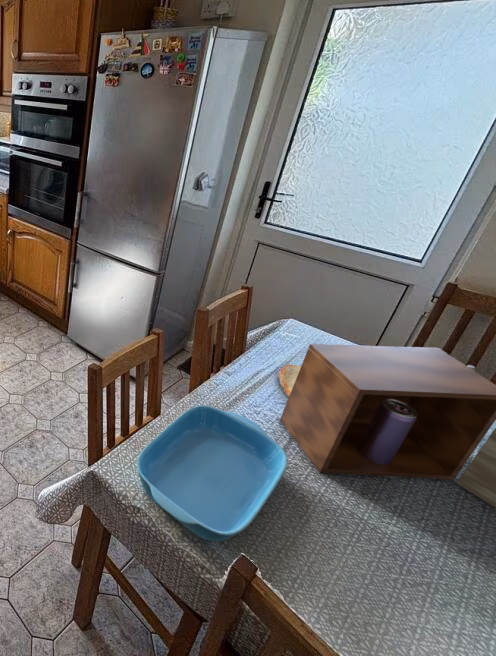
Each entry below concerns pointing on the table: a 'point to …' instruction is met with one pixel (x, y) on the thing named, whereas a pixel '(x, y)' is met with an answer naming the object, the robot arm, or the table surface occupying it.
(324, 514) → the table surface
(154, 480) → the casserole dish
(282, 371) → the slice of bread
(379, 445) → the beverage can
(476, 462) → the cupboard door
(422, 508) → the table surface
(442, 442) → the cupboard
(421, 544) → the table surface
